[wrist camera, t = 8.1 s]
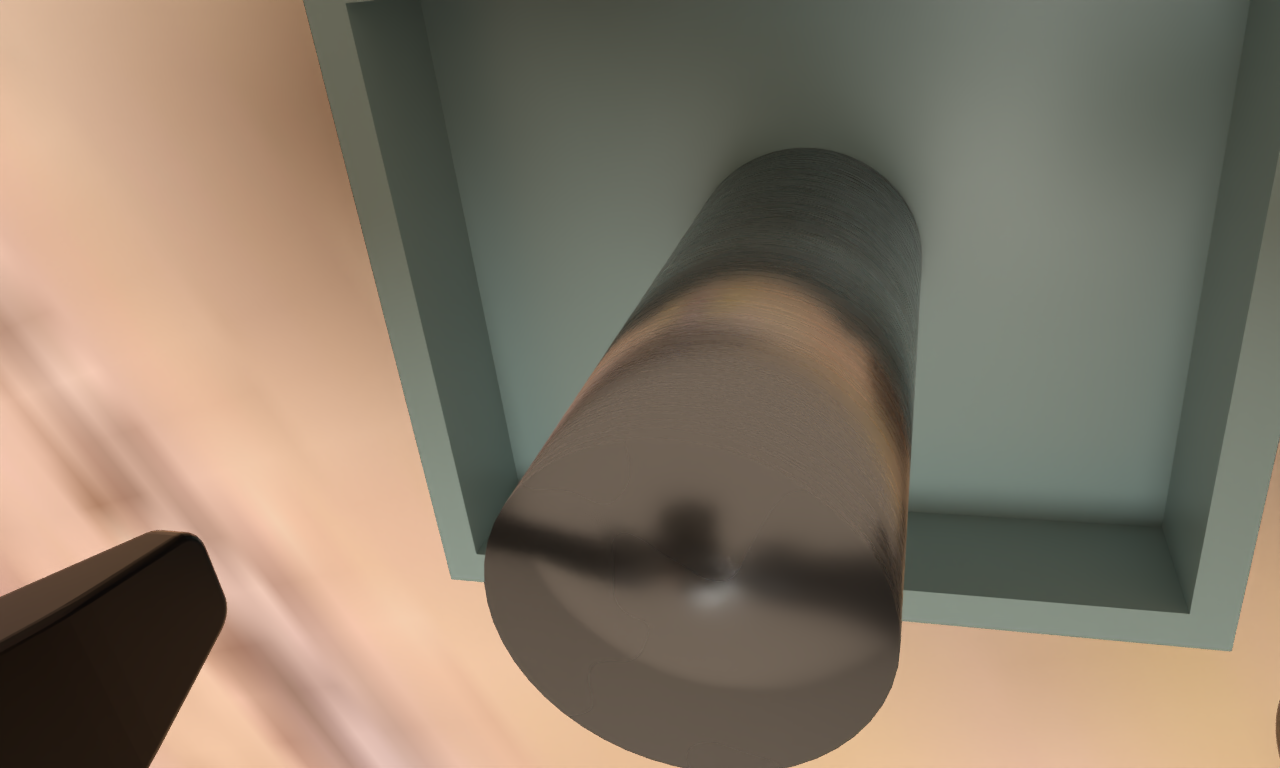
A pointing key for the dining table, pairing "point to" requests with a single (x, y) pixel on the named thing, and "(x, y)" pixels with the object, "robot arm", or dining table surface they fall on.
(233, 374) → the dining table surface
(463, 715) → the dining table surface
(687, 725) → the pin
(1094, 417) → the tray
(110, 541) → the dining table surface
